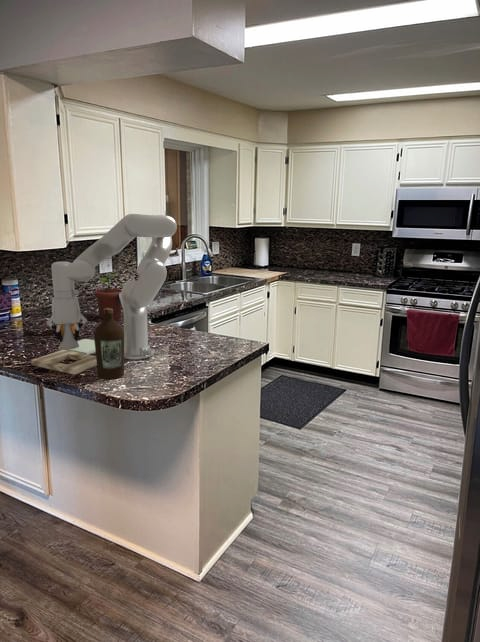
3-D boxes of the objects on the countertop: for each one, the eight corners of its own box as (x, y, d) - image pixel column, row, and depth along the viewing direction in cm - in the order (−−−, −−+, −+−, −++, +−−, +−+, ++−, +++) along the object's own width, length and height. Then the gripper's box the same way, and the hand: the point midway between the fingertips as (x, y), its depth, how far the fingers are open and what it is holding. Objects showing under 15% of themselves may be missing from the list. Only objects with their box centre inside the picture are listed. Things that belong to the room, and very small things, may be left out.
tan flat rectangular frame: (104, 362, 183) (104, 357, 183) (74, 374, 169) (73, 369, 169) (63, 354, 193) (63, 349, 192) (31, 365, 178) (31, 360, 178)
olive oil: (94, 372, 172) (91, 307, 167) (123, 369, 177) (120, 305, 171) (97, 381, 163) (94, 313, 157) (128, 378, 167) (125, 311, 161)
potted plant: (124, 314, 268) (122, 272, 262) (133, 322, 249) (131, 277, 244) (92, 317, 260) (90, 273, 255) (99, 325, 242) (97, 278, 236)
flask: (72, 343, 185) (70, 319, 182) (82, 347, 180) (80, 322, 178) (55, 347, 179) (53, 322, 177) (66, 351, 175) (63, 325, 172)
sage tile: (112, 345, 206) (112, 343, 206) (86, 355, 192) (86, 352, 192) (85, 340, 213) (85, 338, 213) (58, 349, 199) (58, 347, 199)
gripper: (87, 291, 181) (91, 336, 185) (40, 294, 175) (45, 339, 180) (88, 294, 174) (92, 340, 178) (39, 297, 169) (44, 345, 173)
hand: (68, 339), depth 179 cm, fingers closed on flask, 5 cm apart
